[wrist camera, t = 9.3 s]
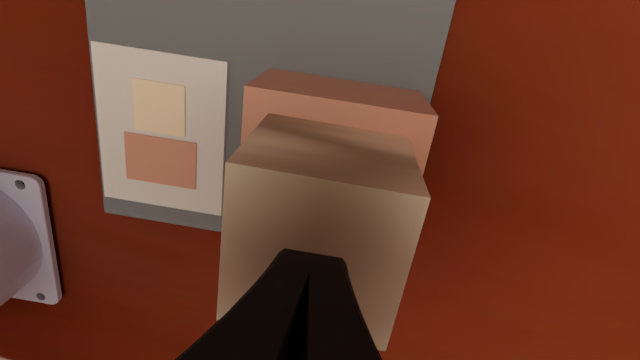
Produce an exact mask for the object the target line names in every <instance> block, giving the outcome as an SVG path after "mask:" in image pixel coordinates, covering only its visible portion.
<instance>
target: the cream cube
mask: <svg viewBox="0 0 640 360" xmlns="http://www.w3.org/2000/svg"><path fill="white" fill-rule="evenodd" d="M430 199H431V197H430V195H429V192H428V189H427V187H426V184H425V182H424V179H423V176H422V174H421V171H420V168H419V166H418V163H417V161H416V158H415V155H414V153H413V150H412V147H411V145H410V142H409V139H408V137H406V136H400V135H394V134H389V133H383V132H377V131H371V130H365V129H359V128H354V127H348V126H342V125H336V124H330V123H324V122H318V121H313V120H307V119H301V118H295V117H289V116H283V115H278V114H272V113H268V114H267V115H266V117H265V118H264V119H263V120H262V121H261V122H260V123H259V125H258V126H257V127H256V128H255V129H254V130H253V131H252V133H251V134H250V135H249V136H248V137H247V138H246V139H245V141H244V142H243V143H242V144H241V145H240V146H239V147H238V148H237V150H236V151H235V152H234V153H233V154H232V155H231V156H230V158H229V159H228V160H227V161H226V162H225V179H224V197H223V214H222V231H221V249H220V266H219V284H218V301H217V319H216V320H219V319H220V318H222V317H223V316H224V315H225V314H226V313H227V312H228V311H229V310H230V309H231V308H232V307H233V306H234V304H235V303H236V302H237V301H238V300H239V299H240V298H241V297H242V296H243V295H244V294H245V293H246V292H247V291H248V290H249V289H250V287H251V286H252V285H253V284H254V283H255V282H256V281H257V280H258V278H259V277H260V276H261V275H262V274H263V272H264V271H265V270H266V269H267V268H268V266H269V265H270V264H271V262H272V261H273V260H274V258H275V257H276V256H277V254H278V253H279V252H280V251H281V250H283V249H284V248H286V249H292V250H298V251H304V252H310V253H316V254H322V255H328V256H334V257H340V258H343V260H344V261H345V262H346V264H347V269H348V273H349V277H350V281H351V284H352V287H353V290H354V293H355V296H356V299H357V302H358V305H359V307H360V310H361V312H362V315H363V317H364V320H365V322H366V324H367V327H368V329H369V332H370V334H371V336H372V339H373V341H374V343H375V345H376V348H377V350H382V351H386V349H387V345H388V342H389V338H390V335H391V332H392V328H393V325H394V321H395V318H396V315H397V311H398V308H399V304H400V301H401V298H402V294H403V291H404V287H405V284H406V281H407V277H408V274H409V270H410V267H411V264H412V260H413V257H414V253H415V250H416V247H417V243H418V240H419V236H420V233H421V230H422V226H423V223H424V219H425V216H426V213H427V209H428V206H429V202H430Z"/></svg>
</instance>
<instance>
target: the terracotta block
mask: <svg viewBox="0 0 640 360" xmlns="http://www.w3.org/2000/svg"><path fill="white" fill-rule="evenodd" d="M268 113H272V114H278V115H283V116H289V117H295V118H301V119H307V120H313V121H318V122H324V123H330V124H336V125H342V126H348V127H354V128H359V129H365V130H371V131H377V132H383V133H389V134H394V135H400V136H406V137H408V139H409V142H410V145H411V147H412V150H413V153H414V155H415V158H416V161H417V163H418V166H419V168H420V171H421V174H422V176H423V173H424V169H425V166H426V162H427V158H428V154H429V150H430V147H431V143H432V139H433V135H434V131H435V128H436V124H437V120H438V115H437V113H436V112H435V111H434V109H433V108H432V107H431V105H430V104H429V103H428V101H427V100H426V99H425V97H424V96H423V95H422V93H421V92H420V91H415V90H408V89H402V88H395V87H389V86H382V85H376V84H370V83H363V82H357V81H350V80H344V79H338V78H331V77H325V76H318V75H312V74H305V73H299V72H293V71H286V70H280V69H273V68H270V69H269V70H267V71H266V72H264V73H263V74H261V75H259V76H258V77H256V78H255V79H253V80H252V81H250V82H249V83H247V84H246V85H244V96H243V113H242V130H241V144H242V143H243V142H244V141H245V139H246V138H247V137H248V136H249V135H250V134H251V133H252V131H253V130H254V129H255V128H256V127H257V126H258V125H259V123H260V122H261V121H262V120H263V119H264V118H265V117H266V115H267V114H268Z"/></svg>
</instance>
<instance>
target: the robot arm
mask: <svg viewBox="0 0 640 360" xmlns="http://www.w3.org/2000/svg"><path fill="white" fill-rule="evenodd" d="M21 181H22V182H23V183H24V184H25V185H23V184H22V182H21ZM10 298H17V299H23V300H28V301H34V302H40V303H45V304H57V303H58V302H59V301H60V300H61V299H62V292H61V285H60V279H59V273H58V266H57V260H56V254H55V247H54V241H53V235H52V228H51V222H50V216H49V209H48V203H47V197H46V190H45V185H44V182H43V180H42V179H41V178H40V177H38V176H37V175H34V174H28V173H22V172H16V171H10V170H4V169H0V306H1V305H3V304H4V303H5V302H6V301H7V300H9V299H10ZM175 360H382V358H381V356H380V354H379V352H378V350H377V348H376V345H375V343H374V341H373V339H372V336H371V334H370V332H369V329H368V327H367V324H366V322H365V320H364V317H363V315H362V312H361V310H360V307H359V305H358V302H357V299H356V296H355V293H354V290H353V287H352V284H351V281H350V277H349V273H348V269H347V264H346V262H345V261H344V260H343V258H340V257H334V256H328V255H322V254H316V253H310V252H304V251H298V250H292V249H286V248H284V249H283V250H281V251H280V252H279V253H278V254H277V256H276V257H275V258H274V260H273V261H272V262H271V264H270V265H269V266H268V268H267V269H266V270H265V271H264V272H263V274H262V275H261V276H260V277H259V278H258V280H257V281H256V282H255V283H254V284H253V285H252V286H251V287H250V289H249V290H248V291H247V292H246V293H245V294H244V295H243V296H242V297H241V298H240V299H239V300H238V301H237V302H236V303H235V304H234V306H233V307H232V308H231V309H230V310H229V311H228V312H227V313H226V314H225V315H224V316H223V317H222V318H220V319H219V320H218V321H217V322H216V323H215V324H214V325H213V326H212V327H211V328H210V329H209V330H208V331H207V332H206V333H204V334H203V335H202V336H201V337H200V338H199V339H198V340H197V341H196V342H195V343H194V344H193V345H191V346H190V347H189V348H188V349H187V350H186V351H184V352H183V353H182V354H181V355H180V356H179V357H178V358H176V359H175Z"/></svg>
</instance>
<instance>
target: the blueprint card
mask: <svg viewBox="0 0 640 360" xmlns="http://www.w3.org/2000/svg"><path fill="white" fill-rule="evenodd" d="M90 43H91V54H92V65H93V76H94V87H95V98H96V109H97V120H98V131H99V141H100V152H101V163H102V174H103V185H104V196H105V197H111V198H117V199H123V200H129V201H135V202H141V203H147V204H153V205H159V206H165V207H171V208H177V209H183V210H189V211H195V212H201V213H207V214H213V215H219V216H221V215H222V212H223V189H224V166H225V143H226V119H227V96H228V73H229V62H228V61H222V60H216V59H209V58H203V57H196V56H190V55H183V54H177V53H171V52H164V51H158V50H151V49H145V48H138V47H132V46H126V45H119V44H113V43H106V42H100V41H94V40H93V41H90Z"/></svg>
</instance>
